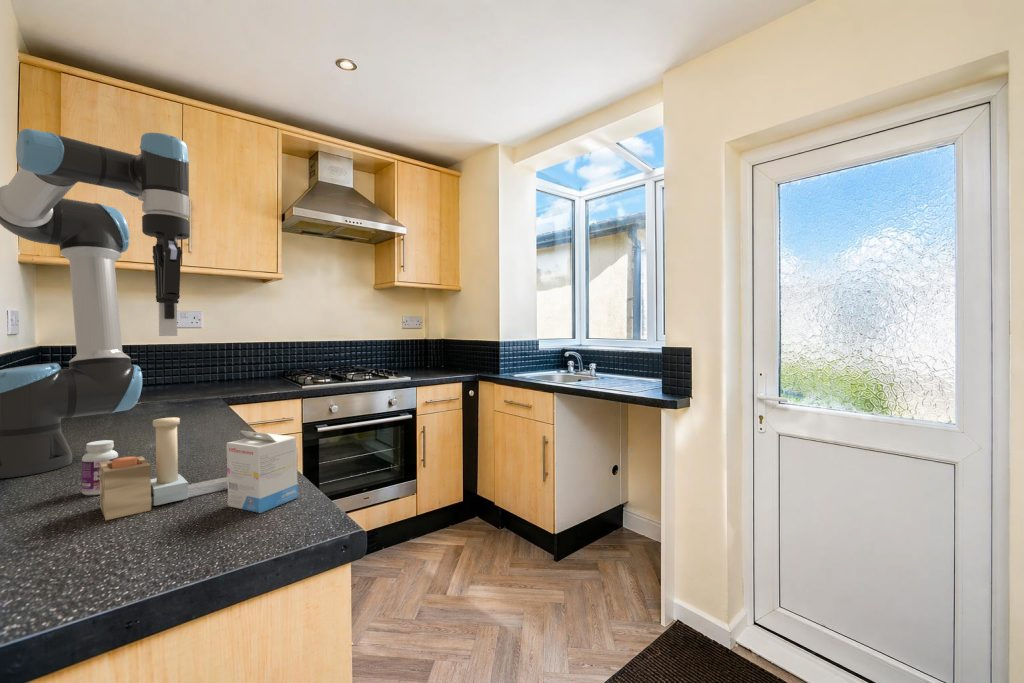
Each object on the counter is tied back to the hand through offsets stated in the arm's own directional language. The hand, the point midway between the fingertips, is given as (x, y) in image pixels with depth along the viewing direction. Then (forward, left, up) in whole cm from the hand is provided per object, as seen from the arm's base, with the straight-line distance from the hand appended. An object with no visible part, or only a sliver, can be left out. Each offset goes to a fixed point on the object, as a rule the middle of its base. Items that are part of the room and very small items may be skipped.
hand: (168, 335), depth 92 cm
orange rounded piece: (+8, -8, -25) cm, 28 cm away
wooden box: (+8, -8, -30) cm, 32 cm away
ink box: (+22, +10, -31) cm, 39 cm away
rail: (+8, +2, -30) cm, 32 cm away
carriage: (+8, -2, -30) cm, 31 cm away
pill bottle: (-7, -10, -31) cm, 33 cm away
